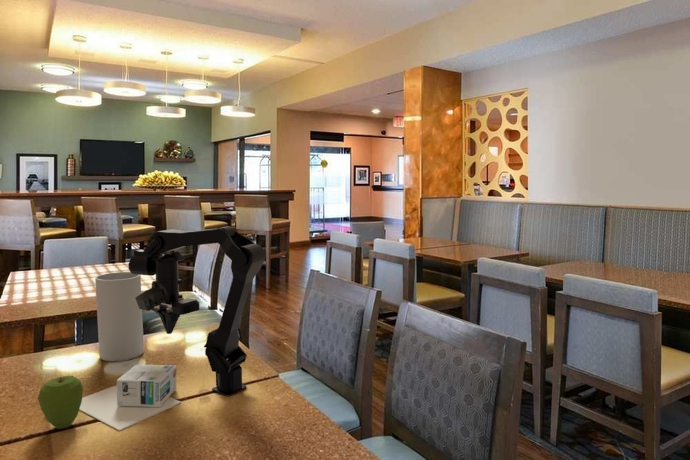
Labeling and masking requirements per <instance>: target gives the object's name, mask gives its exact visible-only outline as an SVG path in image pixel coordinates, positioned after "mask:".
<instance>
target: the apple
mask: <svg viewBox="0 0 690 460" xmlns="http://www.w3.org/2000/svg"><path fill="white" fill-rule="evenodd" d="M83 392H84V385H83V383H82V381H81V380H80V379H79V378H78V377H76V376H74V375H63V376H58V377H55V378H52V379H50V380H48V381H46V382H45V383H44V384H43V385H42V386H41V387H40V389H39V393H38V396H37V400H38V403H39V407H40V410H41V412H42V414H43V415H44V417H45V419H46V421H47V422H48V423H50V424H51V425H52V426H53V427H54V428H55V429H58V430H62V429H66V428H69V427H71V425H72V424H73V423H74V421H75V420H76V419H77V417H78V415H79V412H80V410H79V409H80V405H81V402H82V398H83Z"/></svg>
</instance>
